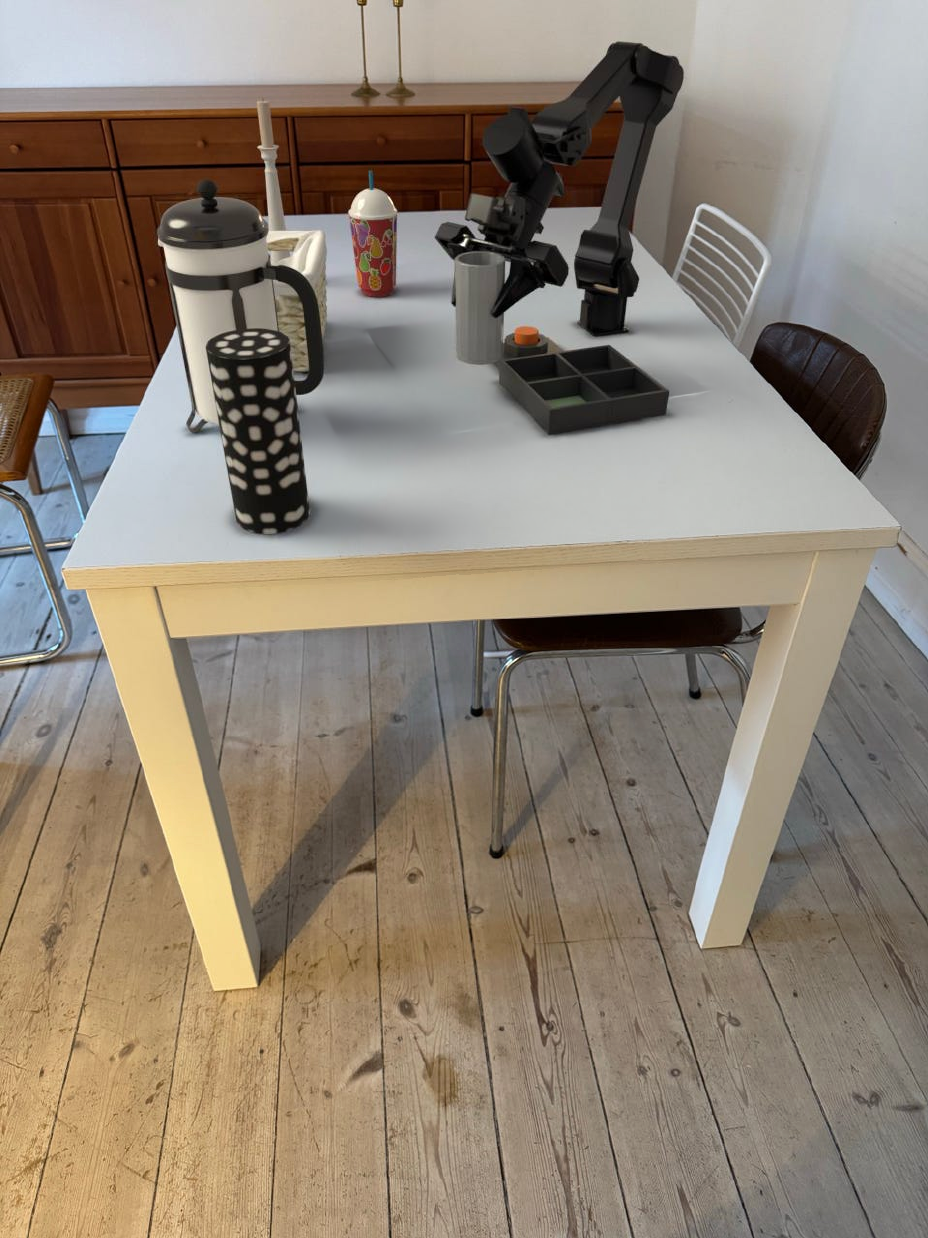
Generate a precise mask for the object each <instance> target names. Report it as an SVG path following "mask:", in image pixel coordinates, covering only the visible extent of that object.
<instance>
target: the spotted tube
mask: <svg viewBox="0 0 928 1238" xmlns="http://www.w3.org/2000/svg"><path fill="white" fill-rule="evenodd" d="M206 353H207V358H208V364H209V369H210V375H211V381H212V386H213V392H214V398H215V403H216V409H217V415H218V420H219V426H218V427H219V432H220V436H221V442H222V448H223V453H224V459H225V465H226V471H227V477H228V483H229V488H230V493H231V499H232V504H233V510H234V516H235V521H236V523H237V525H238V526H239V527H240V528H242V529H243V530H245V531H247V532H250V533H253V534H259V535H260V534H262V535H272V534H273V535H274V534H281V533H285V532H289V531H292V530H294V529H296V528H299V527H300V526H302V525H303V524H304V523H306V522H307V520H308V518H309V517H310V514H311V508H310V501H309V491H308V483H307V474H306V466H305V459H304V457H305V456H304V449H303V442H302V441H303V440H302V434H301V433H302V432H301V424H300V415H299V409H298V400H297V395H296V389H295V381H296V380H295V373H294V372H295V371H294V372H293V364H292V356H291V347H290V339H289V338H288V336H287V335H285V334H284V333H281V332H279V331H275V330H270V329H261V328H249V329H239V330H233V331H228V332H225V333H222V334H219V335H217V336H215V337H213V338H211V339H210V340H209V341H208V342H207V344H206ZM294 380H295V381H294Z"/></svg>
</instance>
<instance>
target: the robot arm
mask: <svg viewBox="0 0 928 1238" xmlns="http://www.w3.org/2000/svg"><path fill="white" fill-rule="evenodd" d="M684 76H685V71H684V67H683V66H682V65H681V64H680V61H679V58H678V56H675V55H667V54H662V53H660V52H657V51H655V50H652V49H651V48H650V47H649V46H647V45H644V44H643V43H642V42H631V41H630V42H629V41H620V40H619V41H618V40H617V41H615V42H612V43H611V44H609V46H608V48H607V50H606V53H605V55H604V57H602V59H601V60H600V61H599V62H598V63H597V64H596V65H595V67H593V69H592V70H590V72H589V73H588V75H586V77H585V78H584V79H583V80H582V81H581V82H580V83H579V84H578V86H576V88H575V89H574V90H573V91H572V92H571V94H569V96H567V97H566V98H565V99H563V100H560V101H558V102H557V101H556V102H555V103H551V104H549V105H547V106H546V107H545V108H543V109H542V110H540V111H539V112H538V113H536V114H535V115H534V116H533V118H532V119H531V120H530V117H529V116H530V115H529V114H528V112H527V109H526V108H525V107H518V106H510V109H509V110H508V113H507V114H504V115H501V116H499V117H498V118H496V119H495V120H494V121H492V122H491V123H490V124H489V125H488V126H487V127H486V128H485V130H484V132H483V135H482V141H481V142H482V146H483V148H484V151H485V152H486V154H487V155H488V157H489V159H490V160H491V162H492V163H493V165H494V167H495V168H496V170H497V172H498V173H499V174H500V176H501V177H502V179H503V180H504V181H505V182H508V183H510V184H509V186H508V188H507V191H506V193H505V195H504V196H503V195H498V196H497V197H494V196H489V195H484V194H478V193H470V195H469V198H468V204H467V207H466V211H465V215H464V220H465V221H466V222H470V221H471V222H473V223H475V224H477V225H478V226H477V228H476V229H477V231H478V233H480V234H481V235H483V236H484V239H481V238H477V237H476V236H475V235H474V233H473V232H472V230H471V229H470V228H469V226H468V225H465V224H460V223H455V222H450V221H446V222H443V223H441V224H440V225H439V226H438V229H437V232H436V234H435V235H434V239H435V240H436V242H437V243H438V244H439V245H440V246H441V248H442V249H443V250H444V251H445V253H446V254H447V255H448V256H449V258H450V259H451V260H453V261H454V262H455V258H456V257H457V256H458V255H460V254H463V253H467V252H475V251H485V252H493V253H497V254H500V255H502V256H504V258H505V262H508V263H509V273H508V275H507V278H506V279H505V284H504V286H503V288H502V290H501V292H500V294H499V296H498V298H497V300H496V302H495V305H494V308H493V310H492V316H493V317H494V318H498V317H499V316H500V315H502V314H503V313H504V314H505V313H506V312H507V311H508V310H510V308H512V307H513V306H515V305H516V304H517V303H519V301H521V300H522V299H523V298H525V297H527V296H529V294H532V293H533V292H534V291H536V290H537V289H545V286H546V284H548V285H552V286H556V287H561V288H562V287H564V284H565V282H566V280H567V278H568V277H569V274H570V273H569V272H570V267H569V264H568V262H567V260H566V259H565V257H564V256H563V254H562V253H561V251H560V249H559V247H558V246H557V245H556V244H552V243H548V242H543V241H539V240H535V239H534V240H533V238H534V237H535V234H536V235H537V234H538V235H542V233H543V231H544V229H545V227H544V225H543V223H542V220H543V219H544V216H545V213H546V211H547V210H548V207H549V205H550V203H551V201H552V200H553V197H554V196H559V197H563V196H564V195H565V186H564V183H563V180H562V179H563V175H562V173H561V172H557V170H556V168H555V167H554V165H553V164H555V165H561V166H567V167H575V166H576V165H577V164H578V163H579V162H580V161H581V160H582V158H583V156H584V155H585V153H586V152H587V150H588V148H590V145H591V144H592V130H593V128H594V127H595V126H596V124H597V123H598V121H599V120H600V119H601V118H602V117H603V116H604V114H605V113H606V112H607V111H608V110H609V109H610V107H612V105H613V104H614V103H615V102H616V101H617V99H619V100H620V104H621V108H622V113H623V116H624V118H623V123H622V125H621V126H622V127H621V130H620V134H619V138H618V142H617V146H616V150H615V153H614V158H613V160H612V165H611V168H610V173H609V176H608V181H607V185H606V188H605V192H604V196H603V199H602V203H601V207H600V210H599V215H598V219H597V221H596V222H595V224H593V225H592V227H591V228H590V229H583V231H582V232H581V234H580V237H579V243H578V247H577V250H576V252H575V254H574V260H573V270H574V276H575V285H576V289H578V290H583V291H584V295H583V299H581V300H580V314H579V320H577V325H578V326H579V327H580V328H582V329H583V330H584V331H586V332H587V333H588V334H590V335H591V336H592V337H600V336H601V337H602V336H608V335H609V336H610V335H616V334H624V333H629V331H630V328H629V327H628V326H626V325H625V324H626V323H625V322H626V313H627V304H628V298H634V296H635V293H636V292H637V290H638V288H639V282H640V276H639V274H638V272H637V271H636V269H635V266H634V265H633V262H632V259H633V254H634V245H633V242H632V241H633V240H632V236H631V233H630V225H631V221H632V218H633V214H634V211H635V206H636V202H637V199H638V196H639V191H640V188H641V184H642V181H643V177H644V174H645V170H646V166H647V162H648V159H649V156H650V153H651V152H650V151H651V147H652V144H653V141H654V136H655V134H656V129H657V127H658V125H660V123H661V122H662V121H663V120H664V119H665V118H666V117H667V115H668V114H669V113H670V112H671V111H672V110H673V108H674V105H675V102H676V100H677V97H678V94H679V92H680V90H681V89H682V86H683V84H684V78H685V77H684ZM450 302H451V303H450V304H451V305H452V306H453V307H454V308H456V306H455V272H454V273H453V284H452V293H451V301H450Z"/></svg>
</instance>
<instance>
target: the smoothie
mask: <svg viewBox="0 0 928 1238" xmlns="http://www.w3.org/2000/svg"><path fill="white" fill-rule="evenodd" d="M373 172H374V171H373V170H368V180H369V182H368V184H369V188H366V189H362V190H361V191H360V192H359V193H357V194H356V196H355V197H354V199H353V201H352V203H351V206H350V209H348V216H349V217H348V218H349V225H350V226H349V227H350V234H351V241H352V247H353V248H352V249H353V256H354V264H355V271H356V278H357V279H356V280H357V286H358V287H359V288H360V291H361V293H362V295H365V296H367V297H371V298H382V297H383V298H384V297H387V296H389V295H391V294H392V293H394V287H396V285H397V253H398V252H397V249H398V248H397V247H398V246H397V243H398V209H397V207H395V204H394V202H393V200H392V199H391V197H390V196H389V195H388V194H387V192H385V191H383V190H381V189H378V188H376V187H374V174H373Z"/></svg>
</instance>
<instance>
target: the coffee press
mask: <svg viewBox="0 0 928 1238" xmlns="http://www.w3.org/2000/svg"><path fill="white" fill-rule="evenodd" d="M218 189H219V188H218V187H217V185H216V183H215V182H214V181H213V180H211V179H209V178H203V179H200V181H198V183H197V188H196V191H197V193H198V195H199V197H198V198H192V199H188V200H184V201H181V202H177V203H176V204H174V205H172V206H171V207H169V208H168V209H167V210H166V211H165V212H164V213H163V214H162V216H161V219H160V224H159V226H158V227H157V229H156V233H157V238H158V239H157V244H158V246H159V247H162V248H163V251H164V257H165V261H164V267H165V273H166V277H167V281H168V287H169V293H170V298H171V299H170V300H171V303H172V304H171V305H172V309H173V314H174V319H175V324H176V325H175V326H176V328H177V329H176V330H177V335H178V339H179V346H180V350H181V355H182V360H183V366H184V371H185V377H186V381H187V387H188V392H189V398H190V404H191V411H190V414H189V416H188V418H187V420H186V423H185V425H186V427H187V429H188V431H189V432H190V433H192V434H197V433H199V432H200V431H201V430H202V429H203V427H204V426H205V425H206V424H211V425H215V426H218V427H220V426H219V420H218V415H217V409H216V403H215V398H214V392H213V386H212V381H211V375H210V369H209V364H208V358H207V353H206V344H207V342H208V341H209V340H210V339H211V338H213V337H215V336H217V335H219V334H222V333H225V332H228V331H233V330H239V329H249V328H261V329H270V330H275V331H279V327H278V319H277V311H276V303H275V295H274V287H273V280H278V282H283V283H286V284H288V285H290V286H291V287H292V288H293V289H294V290H295V291H296V293H297V294H298V296H299V298H300V300H301V303H302V307H303V314H304V323H305V332H306V342H307V351H308V361H309V371H308V374H307V377H306V378H305V379H302V380H295V379H294V381H295V389H296V396H303V395H307V394H310V393H312V392H313V391H315V390H316V389H317V388H318V387H319V386H320V384H321V382H322V380H323V377H324V374H325V354H324V353H325V352H324V340H323V341H322V331H321V321H320V313H319V306H318V302H317V298H316V295H315V292H314V290H313V288H312V286H311V284H310V283H309V281H308V280H307V279H306V278H305V277H304V276H303V275H302V274H301V273H300V272H298V271H297V270H295V269H293V268H290V267H288V266H284V265H278V266H272V265H271V263H272V260H271V253H269V251H268V247H267V238H266V237H267V235H268V232H269V222H268V221H266V219H264V218H263V215H262V214H261V211H260V210H259V209H258V208H257V207H256V206H254V205H253V204H251V203H250V202H247V201H244V200H242V199H237V198H233V197H226V196H225V197H223V196H217V193H218ZM196 414H197V415H198V417H200V419H201V420H200V421H199V422H198V423H197V425H195V427H191V425H192V423H193V422H194V419H195V417H196Z"/></svg>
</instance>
